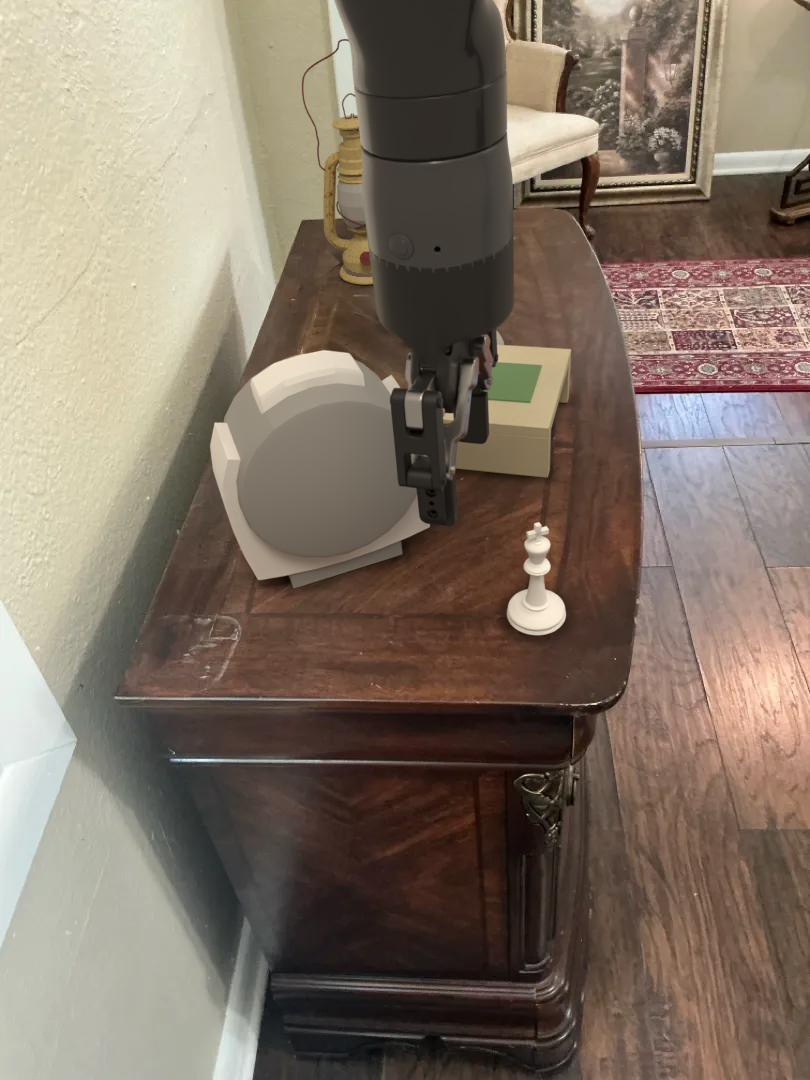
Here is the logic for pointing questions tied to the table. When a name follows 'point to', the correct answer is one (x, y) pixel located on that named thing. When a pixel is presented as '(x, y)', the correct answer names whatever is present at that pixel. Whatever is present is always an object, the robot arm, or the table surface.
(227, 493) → the alarm clock
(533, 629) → the chess piece
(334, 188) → the lantern
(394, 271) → the robot arm
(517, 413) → the box with green top
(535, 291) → the table surface
